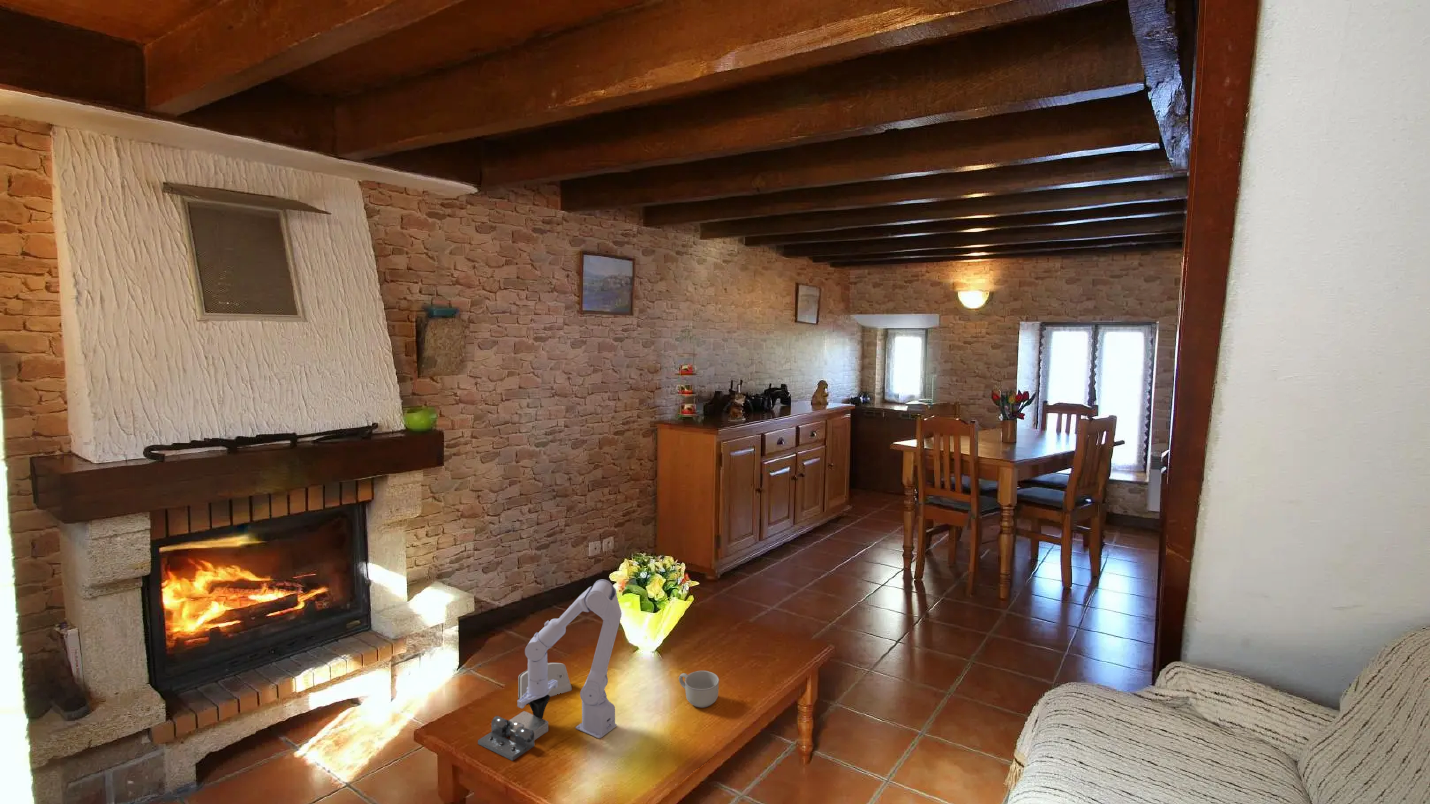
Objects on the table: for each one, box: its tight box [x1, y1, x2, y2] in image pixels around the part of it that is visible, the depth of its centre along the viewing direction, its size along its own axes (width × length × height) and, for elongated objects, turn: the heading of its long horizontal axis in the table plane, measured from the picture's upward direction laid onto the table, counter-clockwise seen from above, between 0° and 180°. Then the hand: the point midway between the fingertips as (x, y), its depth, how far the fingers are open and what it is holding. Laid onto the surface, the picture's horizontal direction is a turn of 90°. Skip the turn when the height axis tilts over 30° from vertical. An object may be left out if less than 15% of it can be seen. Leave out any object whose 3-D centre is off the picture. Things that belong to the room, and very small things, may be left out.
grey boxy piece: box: [508, 710, 549, 742], centre depth 205 cm, size 10×9×5 cm
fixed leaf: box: [477, 715, 535, 762], centre depth 199 cm, size 14×8×5 cm, turn 59°
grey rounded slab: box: [517, 662, 573, 699], centre depth 228 cm, size 17×5×10 cm, turn 124°
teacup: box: [678, 670, 720, 709], centre depth 224 cm, size 14×11×8 cm
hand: (538, 719), depth 210 cm, fingers closed
